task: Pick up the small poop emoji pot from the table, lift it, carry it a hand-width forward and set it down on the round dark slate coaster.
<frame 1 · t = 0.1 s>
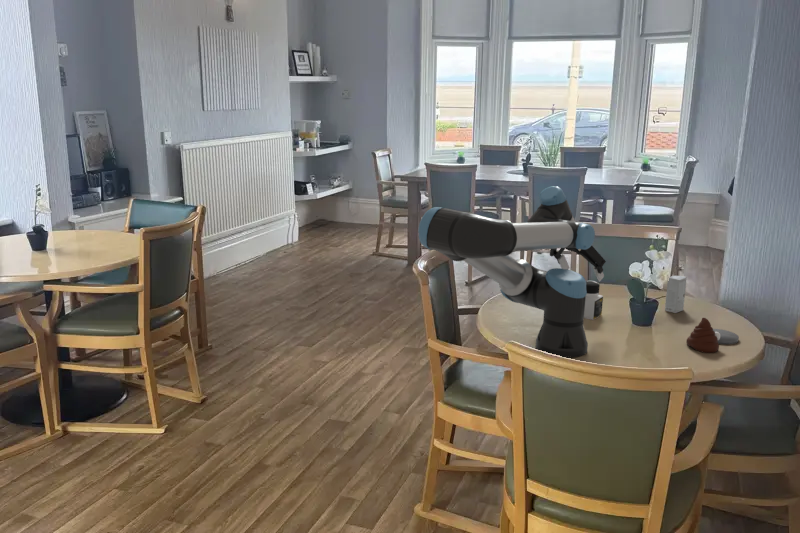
hand: (583, 274, 234), 15 cm above the table, tool tilted 35°, fingers open, 13 cm apart
medicine bottle: (587, 316, 240), on the table
poop emoji: (702, 348, 211), on the table
skincare box: (673, 310, 247), on the table
coaster: (719, 338, 219), on the table
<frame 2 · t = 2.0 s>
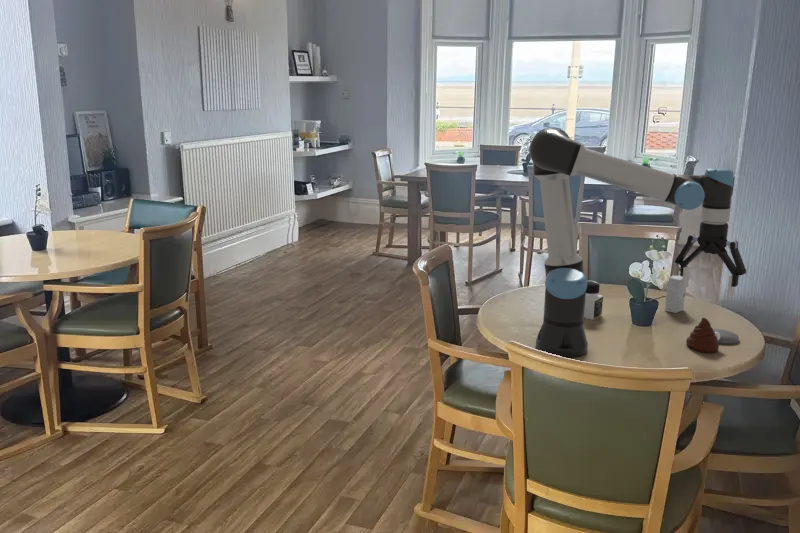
hand: (706, 292, 208), 17 cm above the table, tool pointing down, fingers open, 13 cm apart
nothing on the table moved.
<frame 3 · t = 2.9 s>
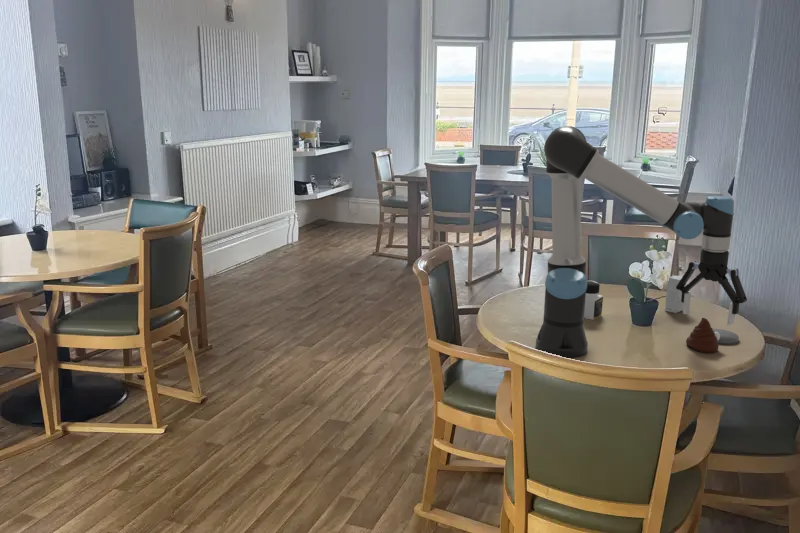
hand: (707, 318, 209), 9 cm above the table, tool pointing down, fingers open, 13 cm apart
nothing on the table moved.
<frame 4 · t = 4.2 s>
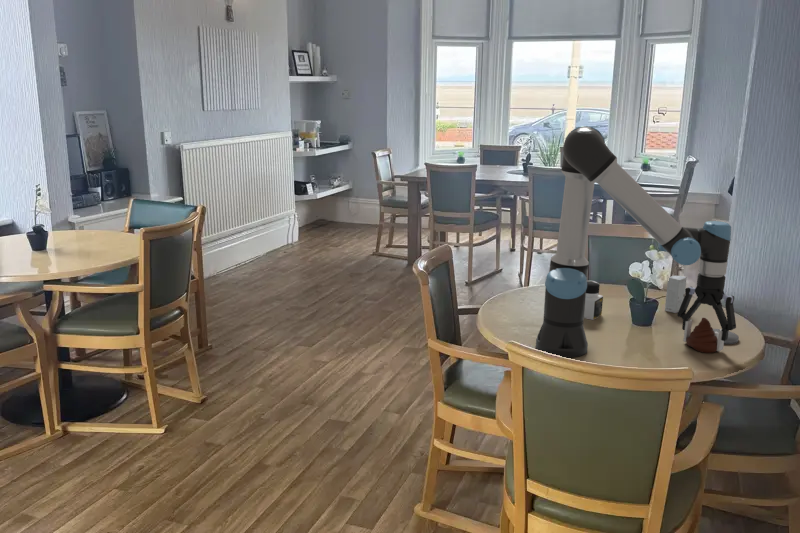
hand: (702, 345, 211), 1 cm above the table, tool pointing down, fingers closed on poop emoji, 10 cm apart
poop emoji: (702, 348, 211), on the table, touching gripper
everything else where it was.
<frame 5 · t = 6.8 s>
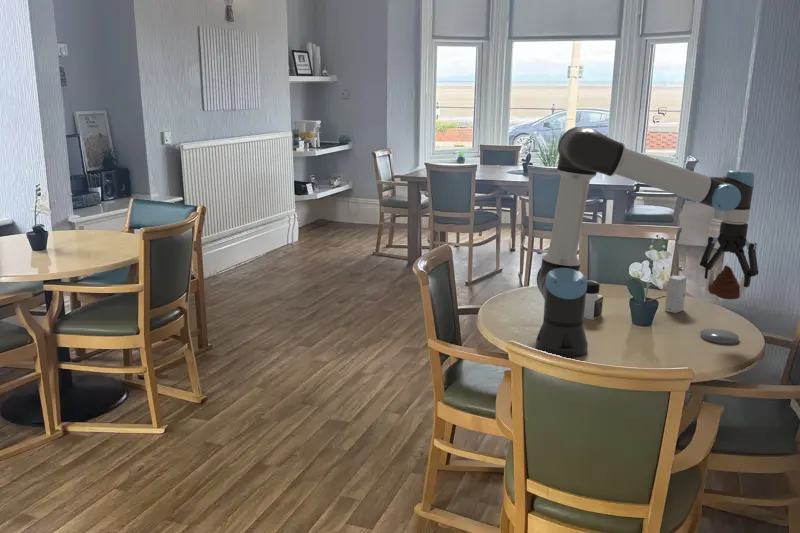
hand: (725, 293, 216), 15 cm above the table, tool pointing down, fingers closed on poop emoji, 9 cm apart
poop emoji: (724, 296, 216), point 14 cm above the table, touching gripper
everything else where it was.
when the fingers open (3 cm above the table, at t = 9.3 s): poop emoji drops 1 cm, resting on coaster.
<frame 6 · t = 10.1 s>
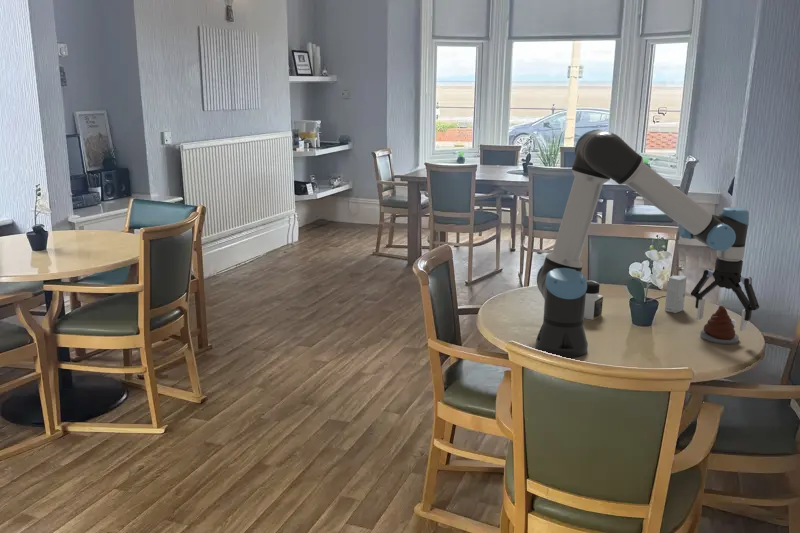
hand: (720, 324, 218), 5 cm above the table, tool pointing down, fingers open, 13 cm apart
poop emoji: (719, 335, 219), point 1 cm above the table, touching coaster
everything else where it was.
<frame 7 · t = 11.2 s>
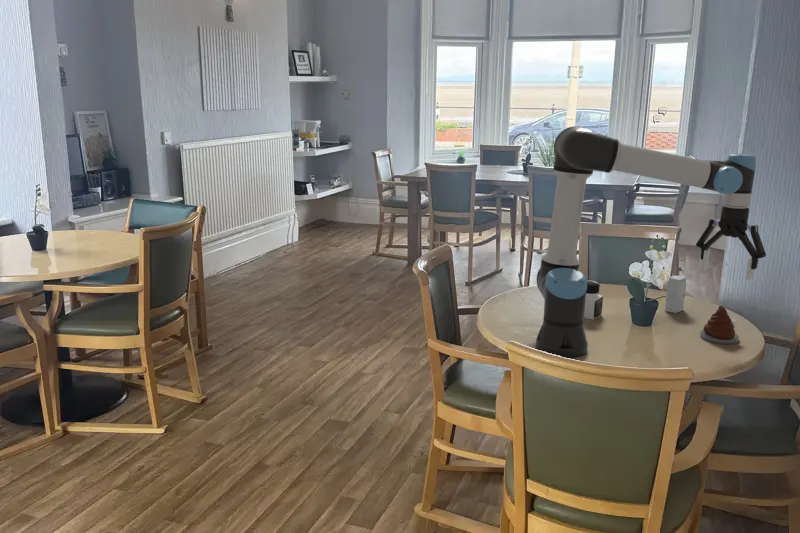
hand: (726, 274, 214), 21 cm above the table, tool pointing down, fingers open, 13 cm apart
nothing on the table moved.
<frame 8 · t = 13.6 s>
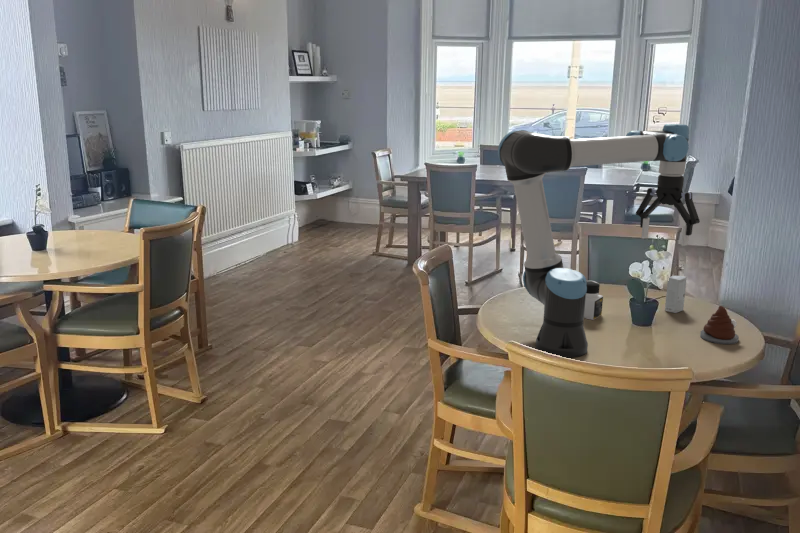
hand: (664, 241, 222), 29 cm above the table, tool pointing down, fingers open, 13 cm apart
nothing on the table moved.
at the end: poop emoji 0.6 cm from the coaster (horizontally); poop emoji touching coaster; poop emoji tilted 0° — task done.
